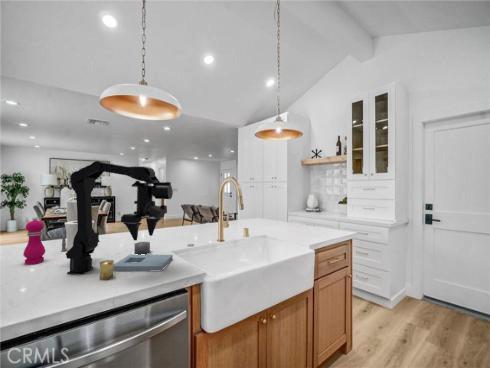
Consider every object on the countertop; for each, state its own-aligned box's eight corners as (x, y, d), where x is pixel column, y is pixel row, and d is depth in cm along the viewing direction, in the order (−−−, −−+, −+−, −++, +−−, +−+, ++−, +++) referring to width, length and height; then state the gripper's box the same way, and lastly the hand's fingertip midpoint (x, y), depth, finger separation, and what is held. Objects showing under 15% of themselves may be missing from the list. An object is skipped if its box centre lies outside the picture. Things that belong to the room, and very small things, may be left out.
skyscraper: (67, 248, 130) (68, 196, 130) (84, 247, 133) (85, 196, 133) (60, 252, 122) (61, 197, 122) (79, 251, 125) (80, 197, 125)
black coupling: (131, 255, 118) (132, 245, 118) (138, 251, 125) (138, 241, 125) (146, 255, 118) (146, 245, 118) (151, 251, 125) (152, 241, 125)
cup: (78, 268, 99) (79, 224, 99) (57, 266, 101) (58, 223, 101) (99, 260, 109) (99, 220, 109) (79, 258, 111) (80, 220, 111)
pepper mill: (20, 263, 104) (20, 217, 104) (40, 259, 110) (41, 215, 110) (27, 266, 100) (28, 218, 101) (48, 261, 107) (49, 216, 107)
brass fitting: (97, 280, 86) (97, 263, 86) (103, 275, 91) (104, 259, 91) (109, 280, 86) (109, 263, 86) (115, 275, 91) (115, 260, 91)
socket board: (111, 271, 95) (111, 266, 95) (129, 258, 111) (129, 254, 111) (161, 271, 96) (161, 266, 96) (172, 258, 112) (172, 254, 112)
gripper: (147, 200, 84) (145, 245, 84) (175, 198, 102) (174, 235, 102) (120, 199, 86) (119, 242, 86) (152, 197, 105) (151, 233, 104)
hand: (143, 237), depth 95 cm, fingers open, 9 cm apart
